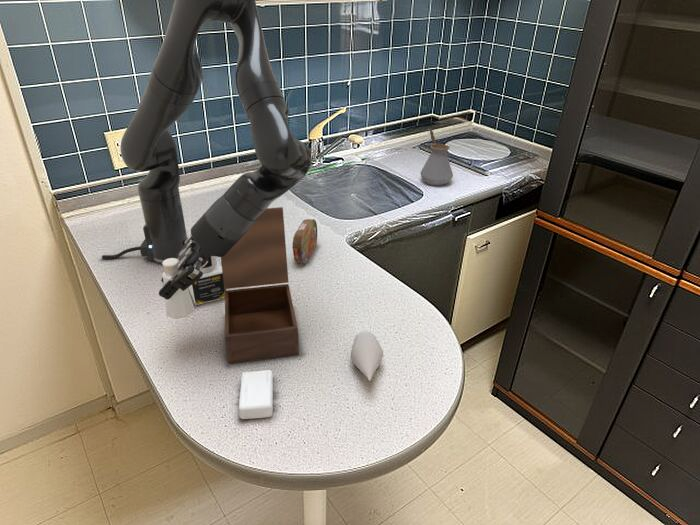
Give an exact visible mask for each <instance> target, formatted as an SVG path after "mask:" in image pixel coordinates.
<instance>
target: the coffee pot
mask: <svg viewBox="0 0 700 525" xmlns="http://www.w3.org/2000/svg"><path fill="white" fill-rule="evenodd" d="M427 133H428V134H430V139H431V142H432V144H431V145H430V149H431V152H430V154H429V156H428V158H427V160H426V161H425V163H424V165H423V167H422V169H421V171H420V173H419V174H420V177H421V179H422V180H423V181H424V183H426V184H427V185H430V186H437V187H438V186H439V187H440V186H445V185H447V183H449V182H450V181H452V179H453V177H454V174H453V170H452V167H451V164H450V160H449V157H448V154H447V153H448V151H449V150H450V146H449V145H446V144H443V143H436V138H435V135H434V129H432V128H429V129H428V131H427Z"/></svg>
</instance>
